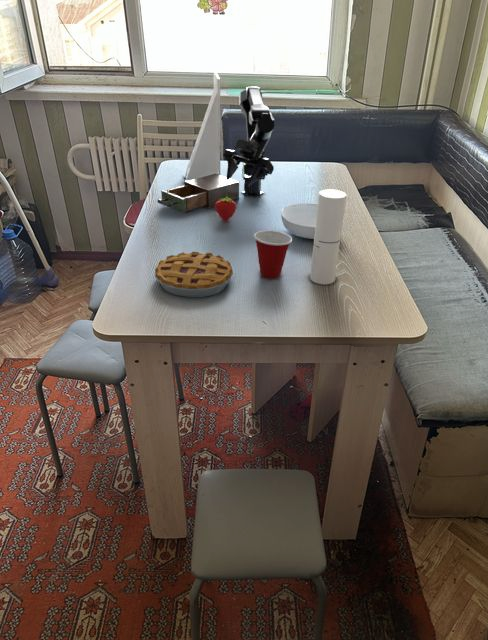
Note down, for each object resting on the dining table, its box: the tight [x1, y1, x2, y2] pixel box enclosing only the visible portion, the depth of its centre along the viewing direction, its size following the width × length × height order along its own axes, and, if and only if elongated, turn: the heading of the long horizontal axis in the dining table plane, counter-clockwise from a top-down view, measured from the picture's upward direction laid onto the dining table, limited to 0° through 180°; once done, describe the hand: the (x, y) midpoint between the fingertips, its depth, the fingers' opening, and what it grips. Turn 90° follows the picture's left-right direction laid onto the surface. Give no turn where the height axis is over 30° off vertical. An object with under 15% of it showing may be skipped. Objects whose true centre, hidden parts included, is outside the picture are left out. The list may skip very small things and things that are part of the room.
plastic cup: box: [253, 230, 293, 280], centre depth 151 cm, size 11×11×12 cm
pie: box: [154, 251, 235, 298], centre depth 147 cm, size 22×22×5 cm
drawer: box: [157, 184, 208, 214], centre depth 194 cm, size 20×12×5 cm, turn 138°
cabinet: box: [184, 174, 240, 209], centre depth 202 cm, size 16×13×7 cm
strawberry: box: [214, 196, 237, 223], centre depth 183 cm, size 6×8×10 cm
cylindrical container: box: [309, 188, 347, 285], centre depth 146 cm, size 7×7×25 cm
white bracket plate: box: [183, 70, 221, 182], centre depth 211 cm, size 20×14×40 cm
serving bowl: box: [280, 202, 318, 240], centre depth 179 cm, size 21×21×7 cm
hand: (237, 182), depth 183 cm, fingers open, 9 cm apart
